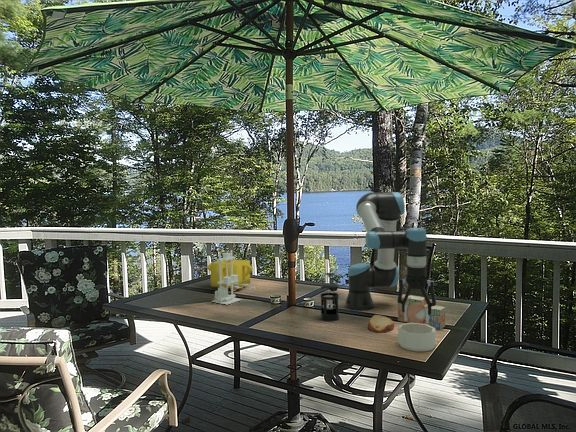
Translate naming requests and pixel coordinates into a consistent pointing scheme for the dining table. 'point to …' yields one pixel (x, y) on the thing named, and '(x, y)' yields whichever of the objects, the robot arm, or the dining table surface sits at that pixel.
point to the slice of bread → (380, 324)
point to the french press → (329, 314)
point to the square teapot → (239, 268)
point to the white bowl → (416, 337)
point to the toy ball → (416, 312)
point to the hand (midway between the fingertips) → (416, 321)
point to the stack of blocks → (434, 319)
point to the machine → (227, 282)
